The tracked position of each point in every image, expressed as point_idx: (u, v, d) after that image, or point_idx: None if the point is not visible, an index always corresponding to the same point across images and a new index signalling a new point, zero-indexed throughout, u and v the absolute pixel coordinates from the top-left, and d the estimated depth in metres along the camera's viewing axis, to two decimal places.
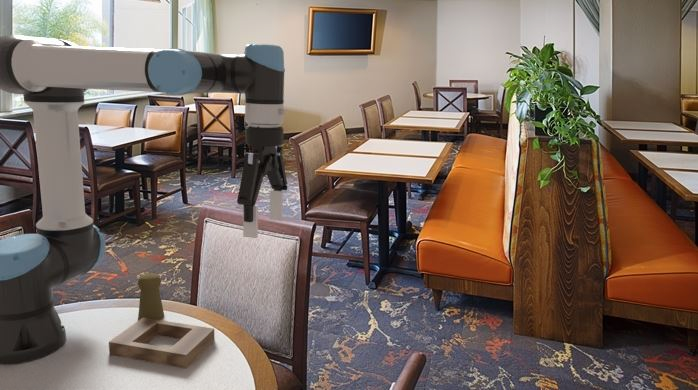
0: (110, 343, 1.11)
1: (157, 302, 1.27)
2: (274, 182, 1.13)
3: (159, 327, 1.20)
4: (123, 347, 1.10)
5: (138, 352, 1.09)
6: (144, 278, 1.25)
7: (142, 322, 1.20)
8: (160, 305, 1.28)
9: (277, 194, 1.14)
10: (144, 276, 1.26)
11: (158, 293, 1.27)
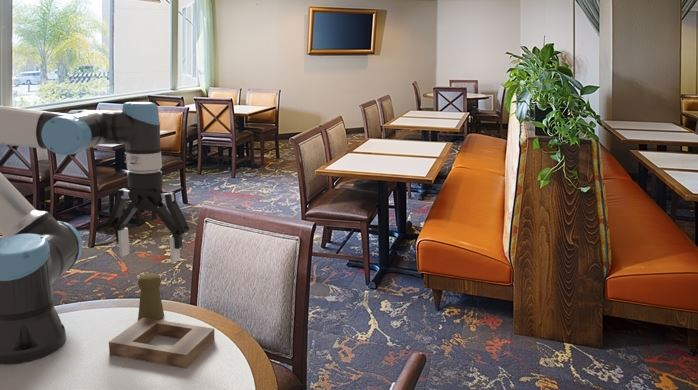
0: (110, 343, 1.11)
1: (157, 302, 1.27)
2: None
3: (159, 327, 1.20)
4: (123, 347, 1.10)
5: (138, 352, 1.09)
6: (144, 278, 1.25)
7: (142, 322, 1.20)
8: (160, 305, 1.28)
9: None
10: (144, 276, 1.26)
11: (158, 293, 1.27)
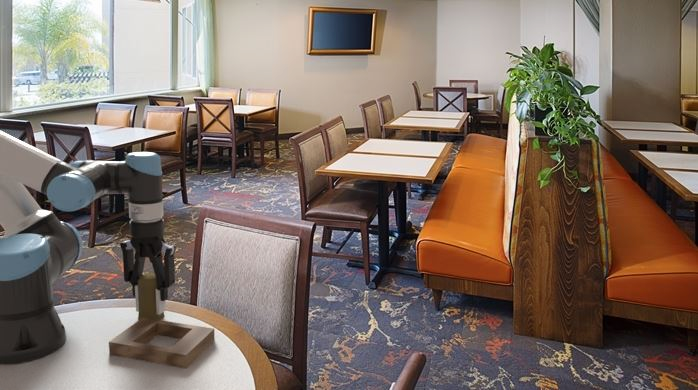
0: (110, 343, 1.11)
1: None
2: None
3: (159, 327, 1.20)
4: (123, 347, 1.10)
5: (138, 352, 1.09)
6: (144, 278, 1.25)
7: (142, 322, 1.20)
8: None
9: None
10: (144, 276, 1.26)
11: None
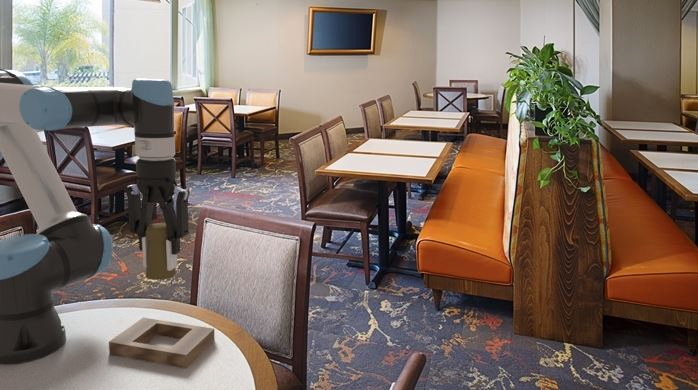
0: (110, 343, 1.11)
1: None
2: None
3: (159, 327, 1.20)
4: (123, 347, 1.10)
5: (138, 352, 1.09)
6: (153, 227, 1.07)
7: (142, 322, 1.20)
8: None
9: None
10: (153, 225, 1.08)
11: None
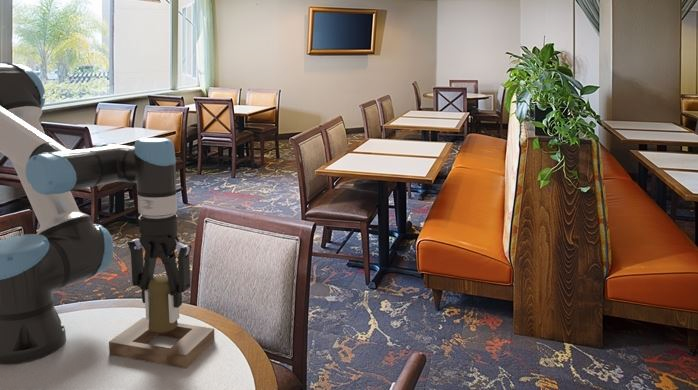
0: (110, 343, 1.11)
1: None
2: None
3: None
4: (123, 347, 1.10)
5: (138, 352, 1.09)
6: (155, 281, 1.10)
7: (142, 322, 1.20)
8: None
9: None
10: (155, 279, 1.11)
11: None
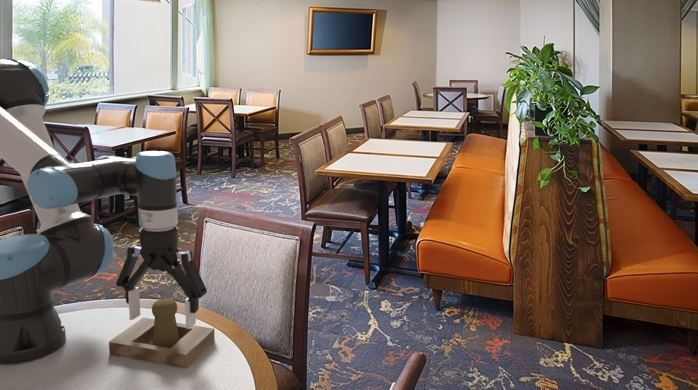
0: (110, 343, 1.11)
1: (173, 332, 1.13)
2: None
3: None
4: (123, 347, 1.10)
5: (138, 352, 1.09)
6: (159, 305, 1.11)
7: (142, 322, 1.20)
8: (176, 334, 1.14)
9: None
10: (159, 302, 1.12)
11: (174, 321, 1.13)
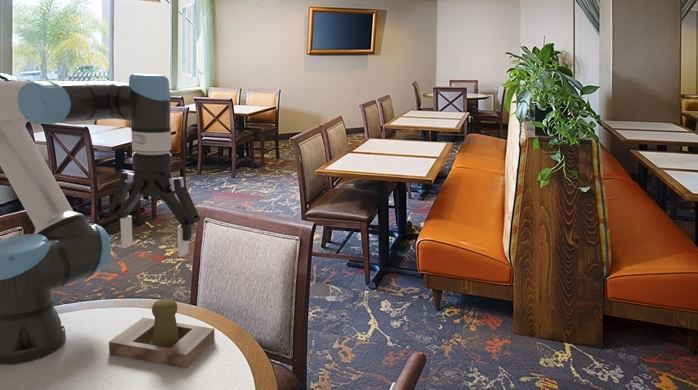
0: (110, 343, 1.11)
1: (174, 332, 1.13)
2: None
3: None
4: (123, 347, 1.10)
5: (138, 352, 1.09)
6: (159, 305, 1.11)
7: (142, 322, 1.20)
8: (176, 334, 1.14)
9: None
10: (159, 302, 1.12)
11: (174, 321, 1.13)
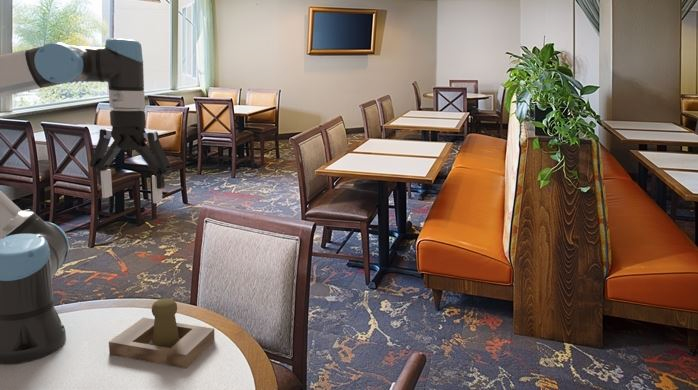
0: (110, 343, 1.11)
1: (173, 332, 1.13)
2: None
3: None
4: (123, 347, 1.10)
5: (138, 352, 1.09)
6: (159, 305, 1.11)
7: (142, 322, 1.20)
8: (176, 334, 1.14)
9: None
10: (159, 302, 1.12)
11: (174, 321, 1.13)
